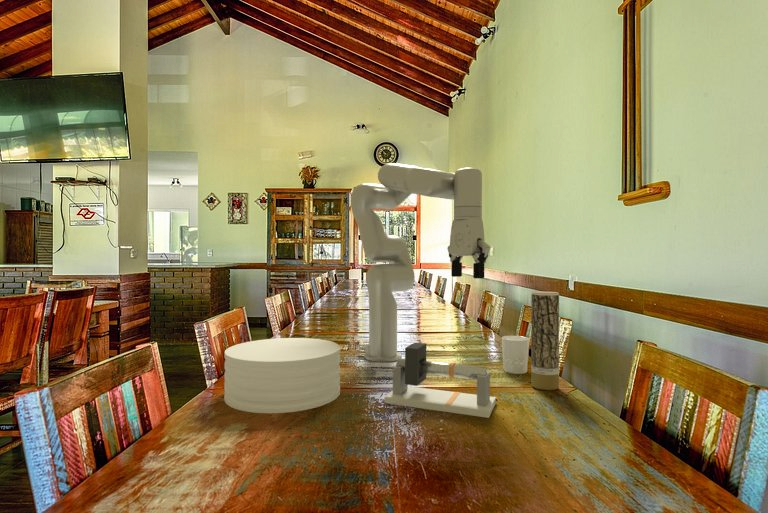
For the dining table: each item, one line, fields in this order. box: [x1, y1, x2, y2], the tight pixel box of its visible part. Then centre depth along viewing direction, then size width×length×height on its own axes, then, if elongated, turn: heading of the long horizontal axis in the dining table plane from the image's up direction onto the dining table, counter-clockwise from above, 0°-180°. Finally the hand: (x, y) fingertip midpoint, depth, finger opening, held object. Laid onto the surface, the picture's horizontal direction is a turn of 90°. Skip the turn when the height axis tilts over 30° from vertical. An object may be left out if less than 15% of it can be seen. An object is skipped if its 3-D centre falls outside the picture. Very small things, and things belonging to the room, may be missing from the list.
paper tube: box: [530, 290, 560, 391], centre depth 116 cm, size 7×7×25 cm
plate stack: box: [223, 337, 341, 414], centre depth 110 cm, size 28×28×12 cm
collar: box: [404, 342, 427, 387], centre depth 105 cm, size 3×7×8 cm, turn 157°
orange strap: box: [445, 362, 461, 406], centre depth 102 cm, size 1×10×8 cm, turn 157°
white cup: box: [501, 335, 530, 375], centre depth 132 cm, size 8×8×10 cm
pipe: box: [395, 358, 488, 381], centre depth 103 cm, size 21×3×3 cm, turn 67°
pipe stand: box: [384, 364, 497, 419], centre depth 103 cm, size 24×10×8 cm, turn 67°
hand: (467, 277), depth 120 cm, fingers open, 9 cm apart
